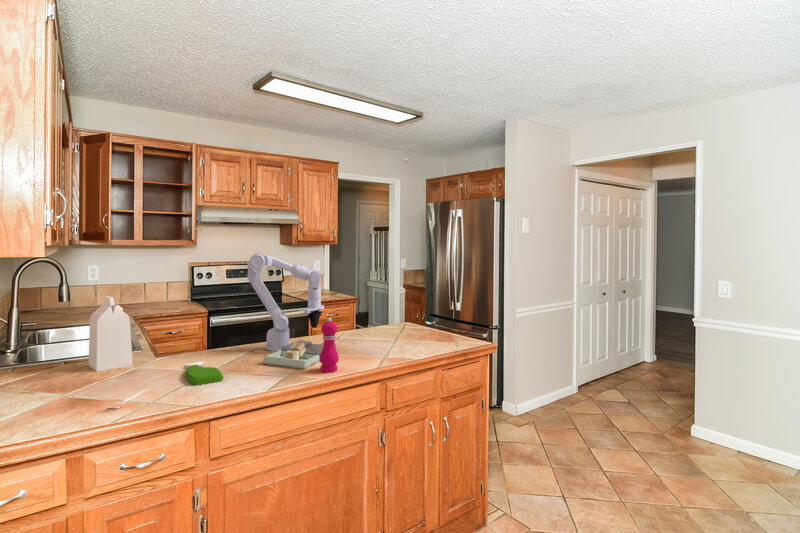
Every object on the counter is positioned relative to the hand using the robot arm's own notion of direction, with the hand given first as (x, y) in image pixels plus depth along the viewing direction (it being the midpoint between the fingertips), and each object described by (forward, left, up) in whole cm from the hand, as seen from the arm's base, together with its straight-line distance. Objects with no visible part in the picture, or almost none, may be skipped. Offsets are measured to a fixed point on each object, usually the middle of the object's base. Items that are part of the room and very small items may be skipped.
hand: (314, 327), depth 198 cm
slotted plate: (+4, -11, -9) cm, 15 cm away
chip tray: (+4, -24, -9) cm, 26 cm away
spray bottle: (-18, -49, -10) cm, 53 cm away
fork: (-19, -76, -10) cm, 79 cm away
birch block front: (+4, -22, -7) cm, 23 cm away
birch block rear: (+4, -19, -7) cm, 21 cm away
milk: (-57, -53, -10) cm, 78 cm away
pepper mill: (+22, -27, -10) cm, 36 cm away
